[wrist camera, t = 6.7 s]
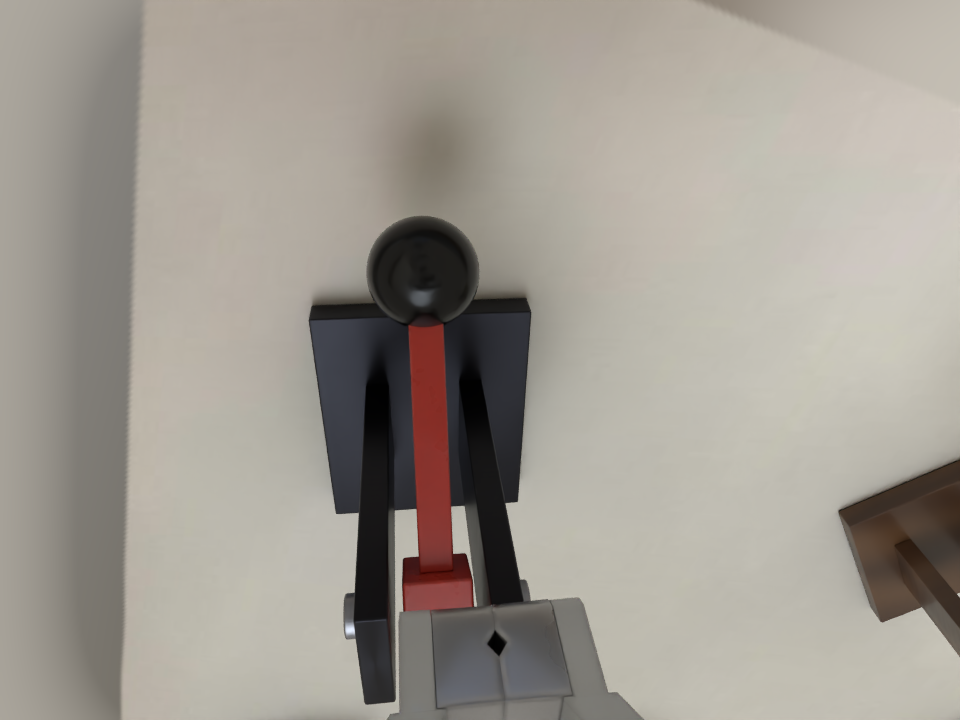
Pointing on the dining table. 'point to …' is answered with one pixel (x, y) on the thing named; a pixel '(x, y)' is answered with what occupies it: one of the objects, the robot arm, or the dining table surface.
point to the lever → (428, 387)
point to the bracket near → (390, 452)
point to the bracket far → (911, 549)
